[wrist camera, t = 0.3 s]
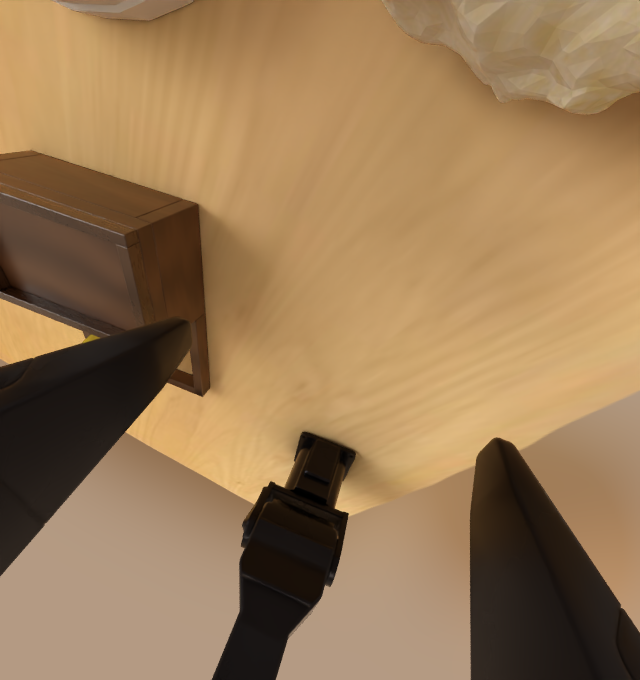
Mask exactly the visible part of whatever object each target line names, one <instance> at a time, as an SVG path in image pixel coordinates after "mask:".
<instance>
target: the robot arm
mask: <svg viewBox="0 0 640 680" xmlns="http://www.w3.org/2000/svg"><path fill="white" fill-rule="evenodd" d="M192 343H193V338H192V327H191V322H190V321H189V320H187V319H184V318H182V317H179V316H175V317H171V318H167V319H164V320H161V321H157V322H154V323H150V324H147V325H143V326H140V327H137V328H133V329H130V330H126V331H123V332H119V333H116V334H113V335H109V336H106V337H102V338H99V339H95V340H92V341H89V342H85V343H82V344H78V345H75V346H71V347H68V348H64V349H61V350H58V351H54V352H51V353H47V354H44V355H40V356H37V357H35V358H30V359H26V360H23V361H20V362H16V363H13V364H9V365H6V366H2V367H0V576H1V575H2V574H3V573H4V572H5V570H6V569H7V568H8V567H9V566H10V565H11V563H12V562H13V561H14V560H15V559H16V558H17V557H18V555H19V554H20V553H21V552H22V551H23V549H24V548H25V547H26V546H27V545H28V544H29V543H30V542H31V540H32V539H33V538H34V537H35V536H36V535H37V533H38V532H39V531H40V530H41V529H42V528H43V527H44V525H45V523H47V522H48V520H49V519H50V518H51V517H52V516H53V515H54V513H55V512H56V511H57V510H58V509H59V508H60V506H61V505H62V504H63V503H64V502H65V501H66V500H67V498H68V497H69V496H70V495H71V494H72V493H73V491H74V490H75V489H76V488H77V487H78V486H79V485H80V483H81V482H82V481H83V480H84V479H85V478H86V476H87V475H88V474H89V473H90V472H91V471H92V469H93V468H94V467H95V466H96V465H97V464H98V463H99V461H100V460H101V459H102V458H103V457H104V456H105V455H106V453H107V452H108V451H109V450H110V449H111V448H112V446H113V445H114V444H115V443H116V442H117V441H118V440H119V438H120V437H121V436H122V435H123V434H124V433H125V431H126V430H127V429H128V428H129V427H130V426H131V425H132V423H133V422H134V421H135V420H136V419H137V418H138V416H139V415H140V414H141V413H142V412H143V411H144V410H145V408H146V407H147V406H148V405H149V404H150V403H151V401H152V400H153V399H154V398H155V397H156V396H157V394H158V393H159V392H160V391H161V390H162V388H163V387H164V386H165V384H166V383H167V382H168V380H169V379H170V377H171V376H172V375H173V373H174V372H175V370H176V369H177V367H178V366H179V364H180V363H181V361H182V360H183V359H184V357H185V356H186V354H187V353H188V351H189V350H190V348H191V346H192ZM355 456H356V453H355V452H354V451H352V450H349V449H347V448H344V447H342V446H339V445H337V444H334V443H332V442H329V441H327V440H324V439H322V438H319V437H317V436H314V435H312V434H310V433H307V432H302V433H301V436H300V439H299V443H298V447H297V451H296V455H295V459H294V461H295V463H294V466H293V468H292V470H291V473H290V475H289V477H288V480H287V482H286V485H285V487H281V486H279V485H276V484H275V483H274V482H270V483H269V485H268V487H264V488H263V490H262V492H261V494H260V496H259V498H258V500H257V502H256V503H255V505H254V506H253V508H252V509H251V511H250V512H249V514H248V515H247V517H246V518H245V520H244V521H243V524H242V527H243V530H244V533H243V539H242V543H241V547H243V548H245V549H244V551H243V554H242V556H241V558H240V563H239V565H240V566H239V594H240V596H239V600H240V612H239V614H238V617H237V619H236V622H235V624H234V627H233V629H232V632H231V634H230V637H229V639H228V642H227V644H226V647H225V649H224V651H223V654H222V656H221V658H220V661H219V663H218V666H217V668H216V671H215V673H214V675H213V678H212V680H276V677H277V674H278V670H279V667H280V663H281V660H282V657H283V653H284V650H285V647H286V643H287V640H288V638H289V637H290V636H291V635H292V634H293V633H294V632H295V631H296V630H297V628H298V627H299V626H300V625H301V624H302V623H303V622H304V621H305V620H306V619H307V617H308V616H309V615H310V614H311V613H312V611H313V610H314V608H315V607H316V605H317V604H318V602H319V600H320V599H321V597H322V594H323V590H324V586H325V585H326V586H329V587H330V586H331V585H332V582H333V580H334V577H335V573H336V571H337V567H338V564H339V560H340V555H341V551H342V546H343V540H344V535H345V530H346V525H347V520H348V515H349V513H346V512H341V511H339V510H336V509H335V505H336V502H337V498H338V494H339V491H340V487H341V484H342V481H344V479H345V477H346V475H347V473H348V471H349V469H350V467H351V465H352V463H353V461H354V459H355ZM470 613H471V614H470V615H471V617H470V618H471V620H470V621H471V622H470V623H471V680H640V632H639V631H638V629H637V628H636V627H635V625H634V624H633V622H632V621H631V619H630V618H629V616H628V615H627V613H626V612H625V610H624V609H622V608H621V605H620V603H619V601H618V600H617V598H616V597H615V595H614V594H613V592H612V591H611V590H610V588H609V586H608V585H607V584H606V582H605V580H604V579H603V577H602V576H601V574H600V573H599V571H598V570H597V568H596V567H595V565H594V564H593V562H592V561H591V559H590V558H589V556H588V555H587V553H586V552H585V550H584V549H583V547H582V546H581V544H580V543H579V542H578V540H577V538H576V537H575V535H574V534H573V532H572V531H571V529H570V528H569V526H568V525H567V523H566V522H565V520H564V519H563V517H562V516H561V514H560V513H559V511H558V510H557V508H556V507H555V505H554V504H553V503H552V501H551V499H550V498H549V496H548V495H547V493H546V492H545V490H544V489H543V487H542V486H541V484H540V483H539V481H538V480H537V479H536V477H535V475H534V474H533V473H532V471H531V469H530V468H529V466H528V465H527V463H526V462H525V460H524V459H523V457H522V456H521V455H520V453H519V451H518V450H517V448H516V447H515V446H514V444H512V443H511V442H509V441H506V440H503V439H501V438H497V437H496V438H494V439H492V440H491V441H490V442H489V443H488V444H487V445H486V446H485V447H484V448H483V449H482V450H481V451H480V452H479V454H478V456H477V459H476V466H475V475H474V484H473V492H472V501H471V511H470Z"/></svg>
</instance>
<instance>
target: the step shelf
mask: <svg viewBox="0 0 640 680" xmlns="http://www.w3.org/2000/svg"><path fill="white" fill-rule="evenodd" d="M0 298H1V299H4V300H6V301H9V302H11V303H14V304H16V305H19V306H21V307H24V308H26V309H29V310H31V311H34V312H36V313H39V314H41V315H44V316H46V317H49V318H51V319H54V320H56V321H59V322H61V323H64V324H66V325H69V326H72V327H74V328H77V329H79V330H82V331H83V333H84V336H85V338H87V337H89V336H90V335H91V334H92V335H94V336H97V337H99V338H102V337H106V336H109V335H113V334H116V333H119V332H123V331H126V330H130V329H133V328H137V327H140V326H143V325H147V324H150V323H154V322H157V321H161V320H164V319H167V318H171V317H175V316H179V317H182V318H184V319H187V320H189V321H190V322H191V327H192V338H193V343H192V346H191V348H190V354H191V363H192V372H193V376H192V375H190V374H187V373H185V372H182V371H180V370H177V369H176V370H175V372H174V373H173V375H172V376H171V377H170V379H169V380H168V382H167V383H170V384H172V385H175V386H177V387H179V388H182V389H184V390H187V391H189V392H192V393H194V394H197V395H199V396H202V397H203V396H204V395H205V393H206V392H207V391H208V390H209V388H210V381H209V366H208V351H207V335H206V320H205V306H204V291H203V276H202V261H201V246H200V230H199V215H198V204H196V203H193V202H190V201H187V200H183V199H180V198H177V197H174V196H171V195H168V194H165V193H162V192H159V191H155V190H152V189H149V188H146V187H143V186H140V185H137V184H134V183H131V182H127V181H124V180H121V179H118V178H115V177H112V176H109V175H106V174H102V173H99V172H96V171H93V170H90V169H87V168H84V167H81V166H78V165H74V164H71V163H68V162H65V161H62V160H59V159H56V158H53V157H50V156H46V155H43V154H41V153H37V152H34V151H31V150H30V151H22V152H14V153H6V154H0Z"/></svg>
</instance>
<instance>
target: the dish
mask: <svg viewBox="0 0 640 680" xmlns="http://www.w3.org/2000/svg"><path fill="white" fill-rule="evenodd" d="M52 1H54V2H56V3H59V4H61V5H63V6H65V7H67V8H69V9H71V10H73V11H78V12H82V13H86V14H91V15H95V16H100V17H104V18H110V19H129V20H147V21H150V20H153V19H155V18H157V17H160V16H162V15H164V14H167V13H169V12H171V11H174V10H176V9H179V8H181V7H183V6H186V5H188V4H190V3H192V2H193V1H194V0H52Z"/></svg>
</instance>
